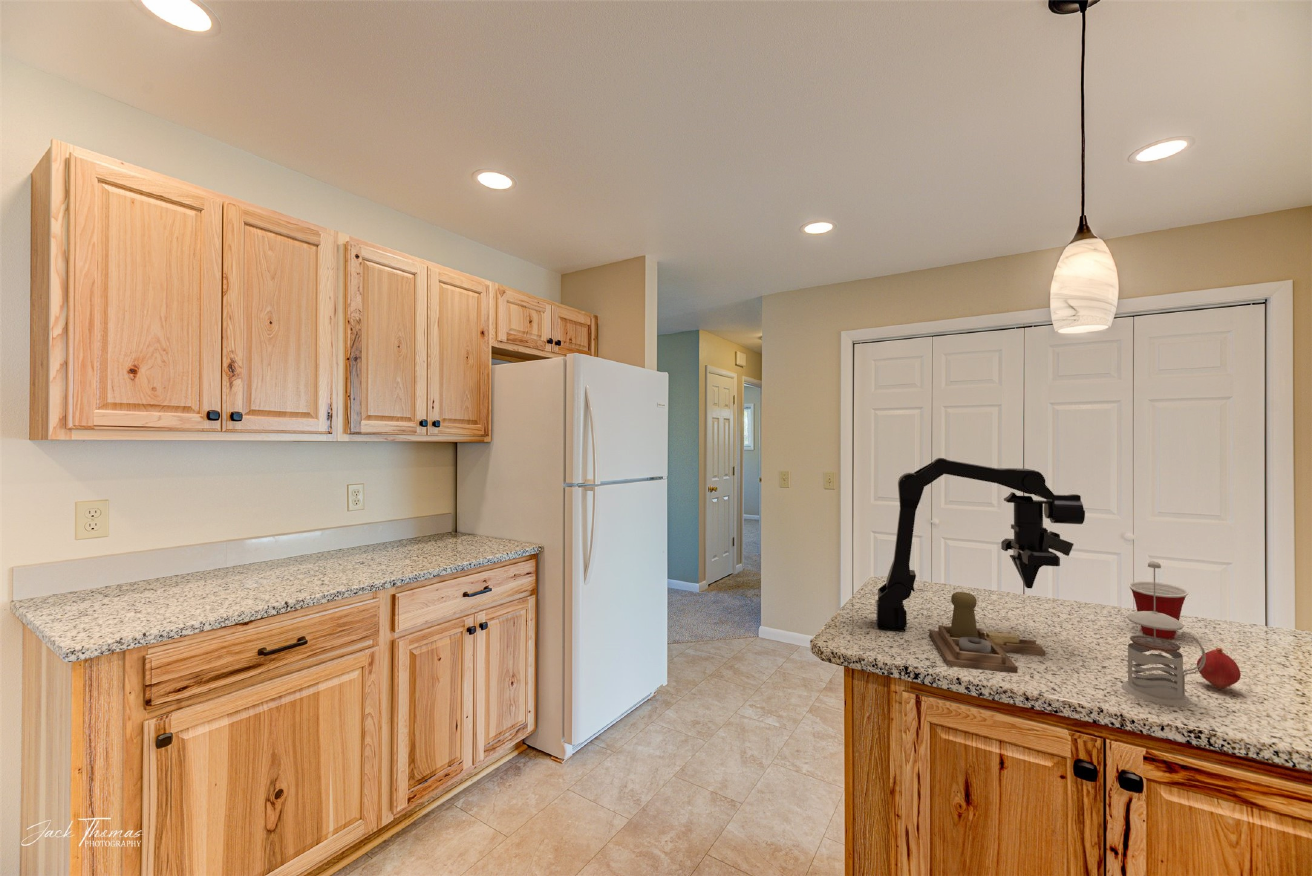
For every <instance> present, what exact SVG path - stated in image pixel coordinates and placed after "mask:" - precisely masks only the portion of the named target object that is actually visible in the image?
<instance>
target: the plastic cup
mask: <svg viewBox="0 0 1312 876" xmlns="http://www.w3.org/2000/svg"><path fill="white" fill-rule="evenodd" d="M1128 587H1129V589H1130V590H1131V592H1132V595H1133V599H1134V604H1135V608H1136V612H1139V611H1154V581H1132V582H1130V583H1128ZM1188 595H1189V591H1188V590H1187V589H1185V588H1182V587H1180V586H1176V585H1173V584H1169V583H1163V582H1156V581H1155V611H1156V612H1158V613H1163V614H1166V615H1168V616H1170V617H1172V618H1175V619H1177V620H1178V621H1180V618H1181V614H1182V610H1183V609H1182V608H1183V605H1184V602H1185V600H1186V597H1187V596H1188ZM1140 629H1141V633H1142V634H1143V635H1144V636H1145V635H1146V636H1151V637H1152V636H1153V637H1154V628H1149V627H1144V626H1141V625H1140ZM1176 635H1177V630H1176V631H1175V630H1161V629H1156V637H1157V638H1160V639H1161V638H1162V639H1164V640H1168V641H1169V640H1174V639H1175V637H1176Z"/></svg>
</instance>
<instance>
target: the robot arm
mask: <svg viewBox="0 0 1312 876" xmlns="http://www.w3.org/2000/svg"><path fill="white" fill-rule="evenodd" d="M944 475H948V476H953V477H954V476H955V477H960V478H966V479H970V480H977V481H982V482H988V483H993V484H998V485H1000V486H1003V487H1006V488H1009V489H1012V490H1016V491H1017V492H1021V493H1024V494H1025V495H1017V494H1016V493H1015V492H1014V491H1012V492H1010V493H1009V495H1007V496H1006V497H1004V498H1003V501H1004V502H1006V503H1008V504H1009V503H1010V504H1011V503H1012V504H1013V523H1012V524H1010V529H1012V530H1013V538H1007V537H1006V538H1004V539H1003V540H1001V542H1000V544H1001V545H1000V546H1001V547H1000V549H1001V550H1002V551H1004V552H1008V551H1009V550H1012V552H1013V554H1009V558H1010V560H1012V563H1013V565H1014V566H1015V568H1016V571H1017V572H1018V574H1019V577H1020V579H1021V581H1022V583H1023V585H1024V587H1025V588H1026V589H1033V586H1034V584H1035V580H1036V579H1037V575H1038V573H1039V570H1040V568H1042V567H1043V566H1044V567H1060V566H1061V558H1060V556H1059V555H1058V554H1057V552H1058V553H1060V554H1062V555H1064V556H1067V557H1069V556H1070V554H1071V552H1072V550H1073V547H1074V543H1073V542H1070V541H1068V540H1065V539H1064V538H1063V539H1062V538H1061V534H1059V533H1057V532H1055V531H1053V530H1048V529H1047V528H1046V527H1045V526H1044V518H1045V519H1048V520H1049V521H1050V523H1051V524H1065V525H1066V524H1067V525H1068V524H1070V525H1083V524H1084V522H1085V519H1086V510H1085V509H1084V504H1083V502H1082V500H1081V498H1082V496H1081V495H1079V494H1074V493H1073V494H1070V493H1069V494H1055V493H1054V492H1053V491H1052V490H1051V489H1050V488H1049V487H1048V486H1047V484H1046V478H1045V476H1044V475H1043V474H1042V473H1041V472H1040V471H1038V470H1035V469H1032V468H1031V469H1030V468H1018V467H1017V468H1014V467H1013V468H1011V467H1009V468H1002V467H1001V468H1000V467H999V468H998V467H997V468H996V467H991V466H986V465H979V464H974V463H969V462H962V461H957V460H950V459H947V458H944V457H938V458H935V459H934V460H933V461H932V462H930V463H929V464H926V465H924V466H923V467H921V468H920V469H918V470H916V471H914V472H906V473H903V474H902V475H901V476H899V478H898V481H897V488H898V489H897V490H898V491H897V492H898V500H899V513H898V520H897V521H898V522H897V530H896V538H895V545H894V553H893V554H894V556H893V561H892V563H891V565H890V569H888V570H889V571H888V574H887V577H886V579H885V583H884V584H882V586H880V587H879V588H877V599H876V600H875V601H876V606H875V607H876V611H875V612H876V619H874V620H875V623H876V627H877V629H878V630H886V631H898V632H906V628H907V625H908V623H907V621H908V619H907V617H908V616H907V615H908V614H907V610H906V608H905V604H904V602H905V601H906V600H908V599H909V598H910V597H911V595H912V592H916V591H915V588H914V587H915V585H914V584H915V582H916V578H917V575H916V570H914V569H910V563H911V562H910V561H911V553H912V546H913V536H914V530H915V529H914V528H915V519H916V512H917V508H918V507H919V504H920V501H921V498H922V495H923V493H924V489H925V488H926V487H927V486H929V485H930V484H932V482H934V481H936V480H937V479H939V478H940V477H942V476H944ZM1031 495H1034V496H1035V497H1038V498H1042V500H1040V499H1038V500H1037V499H1034V498H1033V497H1032V496H1031ZM1043 499H1044V500H1043ZM1051 550H1053V551H1055V552H1056V553H1055V552H1053V551H1051Z"/></svg>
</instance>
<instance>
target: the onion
mask: <svg viewBox="0 0 1312 876" xmlns="http://www.w3.org/2000/svg"><path fill="white" fill-rule="evenodd" d="M1205 653H1206V662H1205V664H1204V667H1203V668H1202V669H1201V670H1200V671H1198V673H1199V674H1200V675H1201V677H1202V678H1203V679H1204V680H1206V681H1207V682H1208V683H1209V684H1210V685H1212V686H1213V687H1214V688H1215V689H1218V690H1224V689H1227V688H1228V687H1231V686H1232V685H1234V684H1235V685H1236V684H1237V683H1238V682H1239V681H1240V680H1241V675H1242V674H1241V670H1240V667H1239V665H1238V664H1237V663H1236V662H1235V660H1234V659H1233V658H1232V657H1231V656H1229V655H1227V654H1226V653H1225V652H1224V651H1223V648H1222V647H1216V648H1215V649H1211V650H1209V651H1205ZM1201 660H1202V655H1201V656H1200V657H1199V658H1198V659H1197V661H1196V667H1197V666H1198V665H1199V663H1200V662H1201ZM1202 664H1203V663H1202ZM1202 664H1201V665H1202ZM1200 667H1201V666H1200ZM1200 667H1199V668H1200ZM1199 668H1197V669H1196V670H1199Z"/></svg>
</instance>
